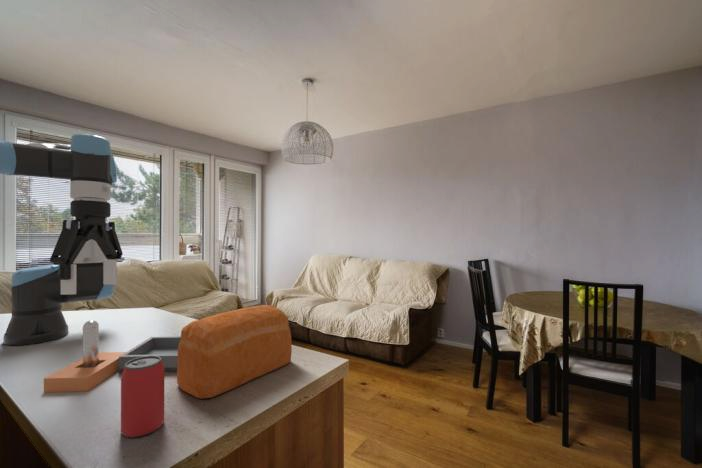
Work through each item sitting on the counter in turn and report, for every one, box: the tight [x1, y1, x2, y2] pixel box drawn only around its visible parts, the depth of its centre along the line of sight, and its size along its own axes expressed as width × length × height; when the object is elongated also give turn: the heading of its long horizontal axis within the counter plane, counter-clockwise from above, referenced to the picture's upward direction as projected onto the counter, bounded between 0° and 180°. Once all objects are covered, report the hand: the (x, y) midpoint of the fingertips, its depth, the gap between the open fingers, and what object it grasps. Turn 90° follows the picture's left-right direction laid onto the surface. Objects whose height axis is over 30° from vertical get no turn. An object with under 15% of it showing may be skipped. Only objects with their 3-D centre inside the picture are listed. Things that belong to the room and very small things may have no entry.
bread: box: [176, 304, 293, 400], centre depth 81 cm, size 14×26×16 cm, turn 144°
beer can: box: [120, 356, 165, 438], centre depth 58 cm, size 7×7×12 cm
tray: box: [118, 335, 181, 374], centre depth 88 cm, size 15×15×4 cm
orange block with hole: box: [43, 351, 127, 393], centre depth 78 cm, size 15×9×3 cm, turn 4°
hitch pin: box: [82, 320, 100, 368], centre depth 78 cm, size 3×3×14 cm
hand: (91, 289), depth 78 cm, fingers open, 13 cm apart
